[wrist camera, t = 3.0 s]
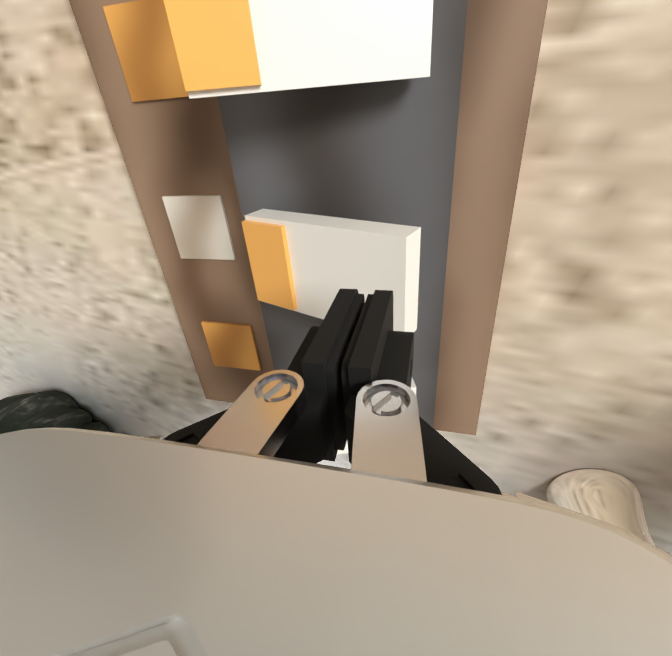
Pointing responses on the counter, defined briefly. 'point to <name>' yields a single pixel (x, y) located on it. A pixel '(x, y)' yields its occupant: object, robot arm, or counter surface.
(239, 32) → the plate
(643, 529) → the beige tall curved piece
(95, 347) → the counter surface
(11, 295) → the counter surface
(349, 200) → the switch unit
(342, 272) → the block
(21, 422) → the squash
